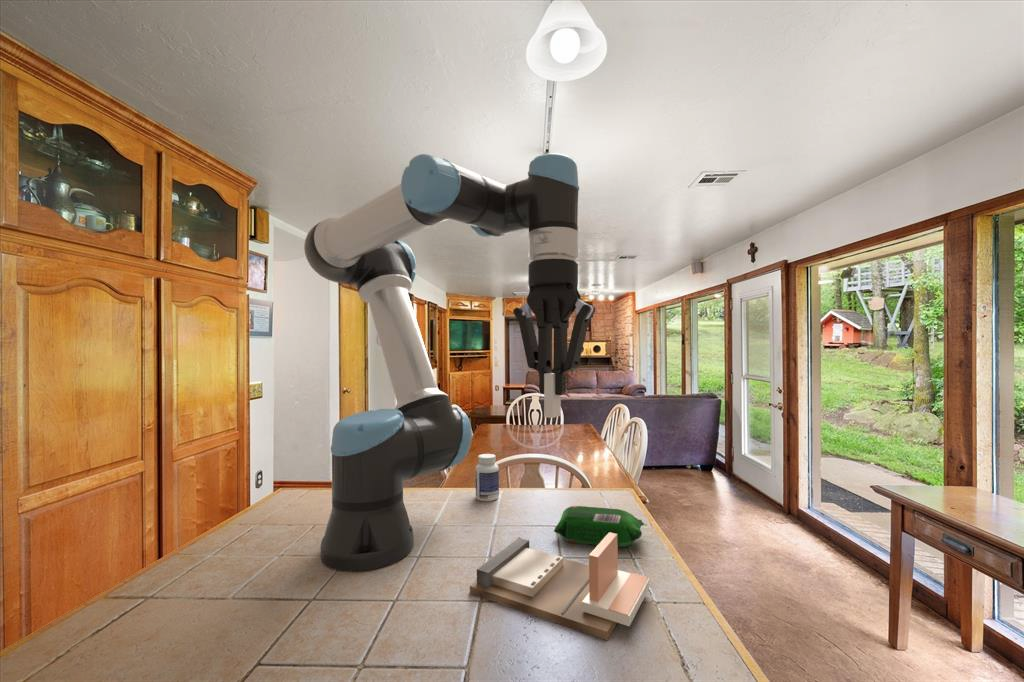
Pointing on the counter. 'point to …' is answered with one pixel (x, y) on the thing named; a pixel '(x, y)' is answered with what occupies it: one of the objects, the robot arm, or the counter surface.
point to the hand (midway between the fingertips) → (552, 416)
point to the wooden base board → (540, 587)
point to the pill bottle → (487, 478)
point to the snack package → (598, 525)
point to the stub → (613, 585)
